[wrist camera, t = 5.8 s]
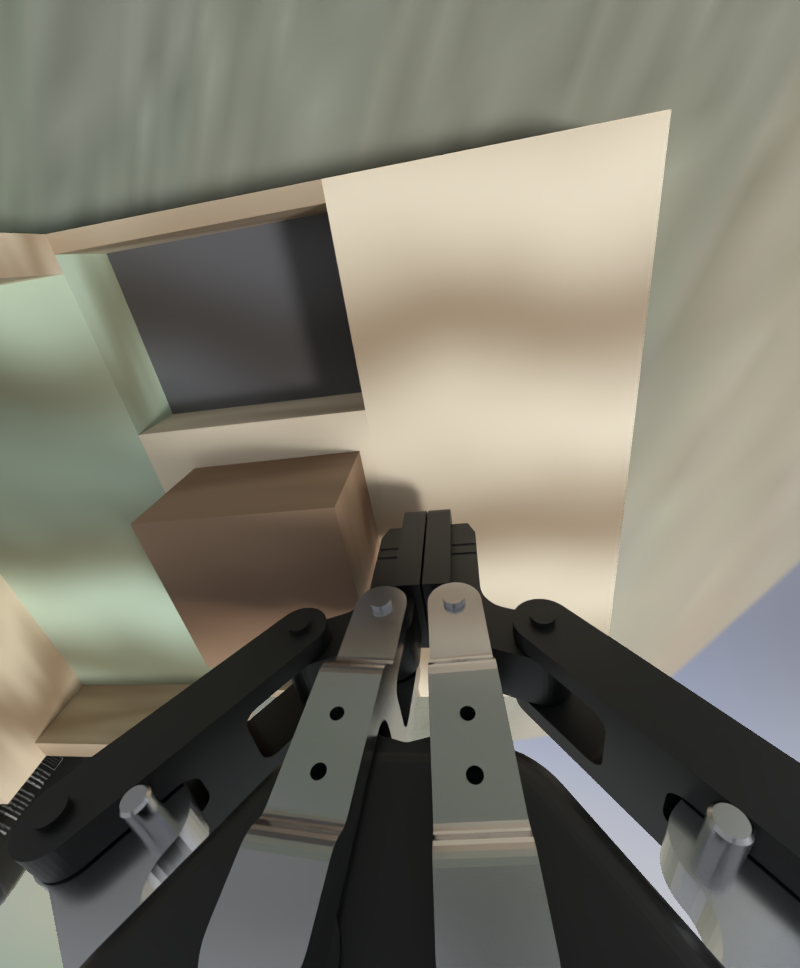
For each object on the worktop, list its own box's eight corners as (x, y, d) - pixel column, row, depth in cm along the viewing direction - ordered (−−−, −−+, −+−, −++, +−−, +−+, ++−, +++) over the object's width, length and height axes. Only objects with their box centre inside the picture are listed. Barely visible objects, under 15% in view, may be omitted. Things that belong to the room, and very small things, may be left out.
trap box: (-155, 287, 16) (-584, 315, 9) (629, 135, 11) (867, -13, 5) (101, 658, 25) (-22, 802, 18) (585, 649, 21) (648, 832, 14)
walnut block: (194, 468, 15) (130, 524, 12) (359, 450, 14) (334, 507, 11) (249, 595, 18) (208, 667, 15) (389, 588, 17) (376, 664, 14)
